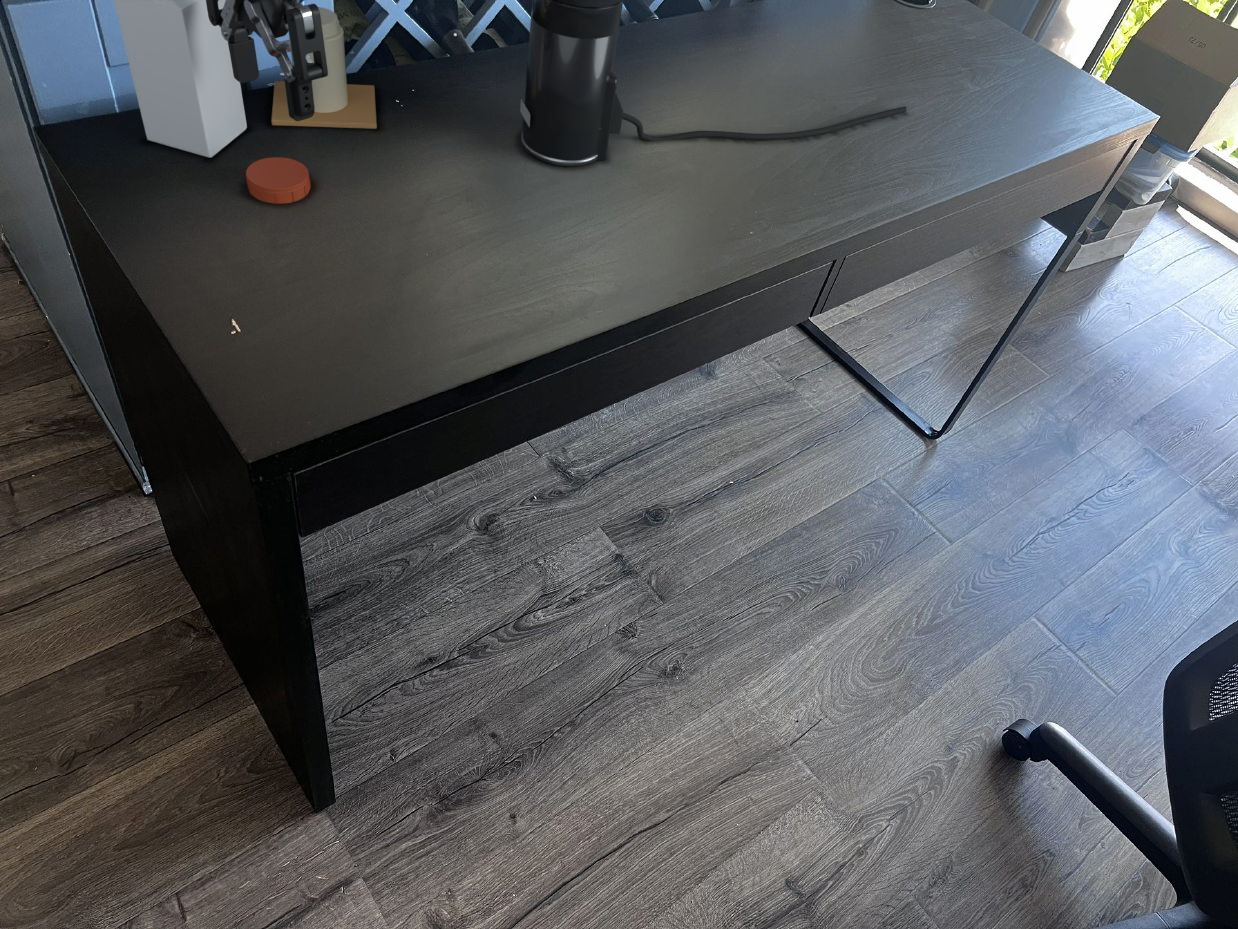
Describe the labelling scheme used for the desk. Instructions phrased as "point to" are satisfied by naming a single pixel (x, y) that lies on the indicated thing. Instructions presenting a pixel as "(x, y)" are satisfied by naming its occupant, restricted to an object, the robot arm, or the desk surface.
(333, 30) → the jar
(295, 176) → the lid
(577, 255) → the desk surface
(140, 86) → the milk carton
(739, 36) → the desk surface
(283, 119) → the mat
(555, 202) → the desk surface
